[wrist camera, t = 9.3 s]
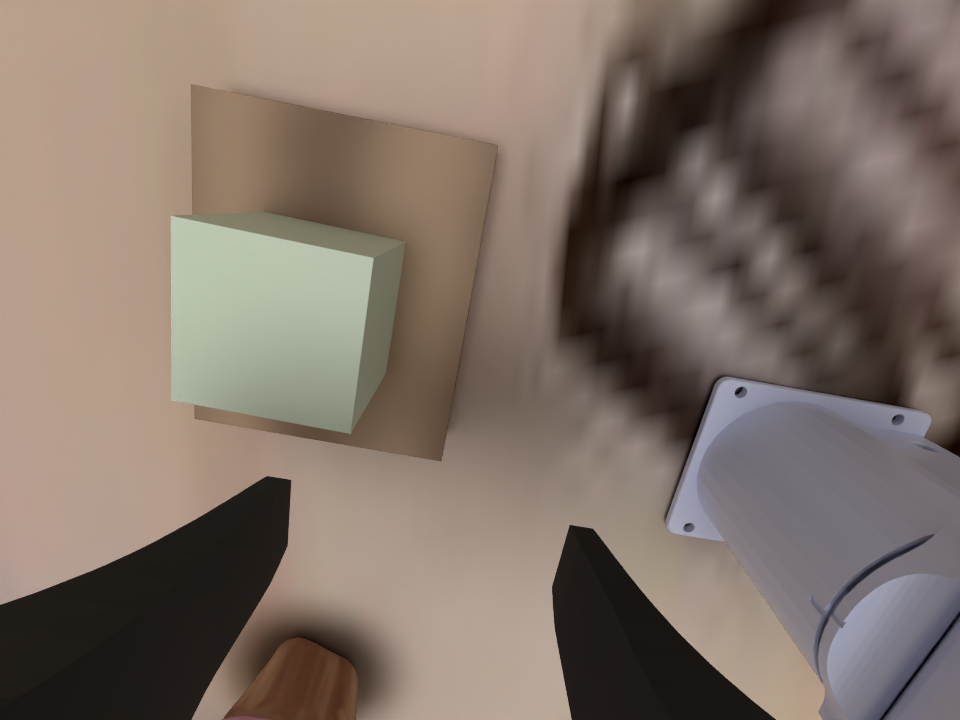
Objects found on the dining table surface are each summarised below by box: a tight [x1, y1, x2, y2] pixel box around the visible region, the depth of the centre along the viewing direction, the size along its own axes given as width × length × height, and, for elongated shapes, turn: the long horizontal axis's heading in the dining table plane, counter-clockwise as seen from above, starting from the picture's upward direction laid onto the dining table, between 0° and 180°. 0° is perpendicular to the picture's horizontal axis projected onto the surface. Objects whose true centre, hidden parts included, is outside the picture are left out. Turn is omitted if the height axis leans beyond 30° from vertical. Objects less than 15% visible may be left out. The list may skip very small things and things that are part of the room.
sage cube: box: [171, 211, 406, 434], centre depth 15 cm, size 5×5×5 cm
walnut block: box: [191, 84, 498, 461], centre depth 19 cm, size 10×12×3 cm
